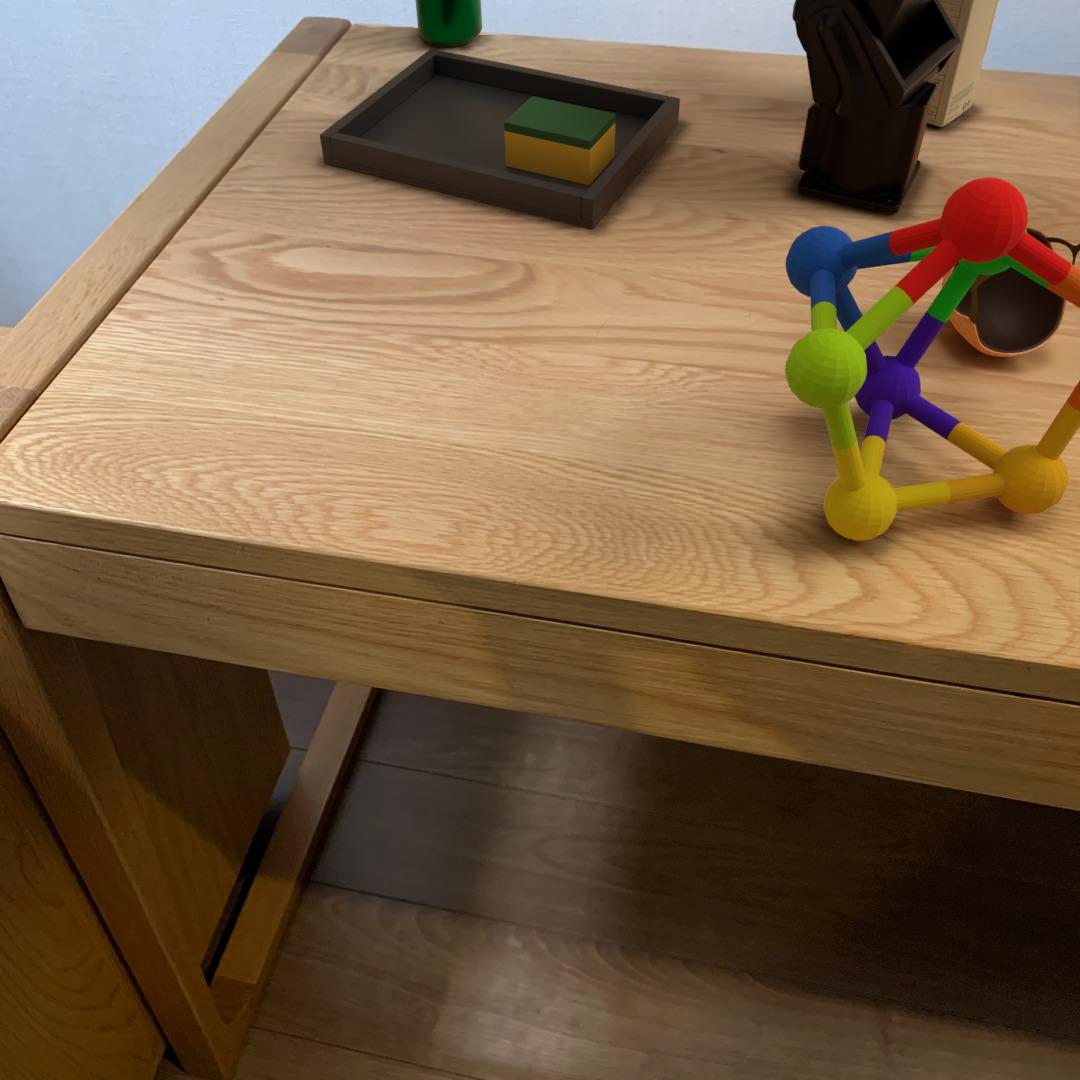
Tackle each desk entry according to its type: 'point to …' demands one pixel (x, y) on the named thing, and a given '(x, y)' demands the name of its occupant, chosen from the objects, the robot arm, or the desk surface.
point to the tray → (492, 134)
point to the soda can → (449, 21)
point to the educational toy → (918, 355)
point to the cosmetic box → (962, 58)
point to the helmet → (1010, 309)
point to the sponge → (560, 140)
